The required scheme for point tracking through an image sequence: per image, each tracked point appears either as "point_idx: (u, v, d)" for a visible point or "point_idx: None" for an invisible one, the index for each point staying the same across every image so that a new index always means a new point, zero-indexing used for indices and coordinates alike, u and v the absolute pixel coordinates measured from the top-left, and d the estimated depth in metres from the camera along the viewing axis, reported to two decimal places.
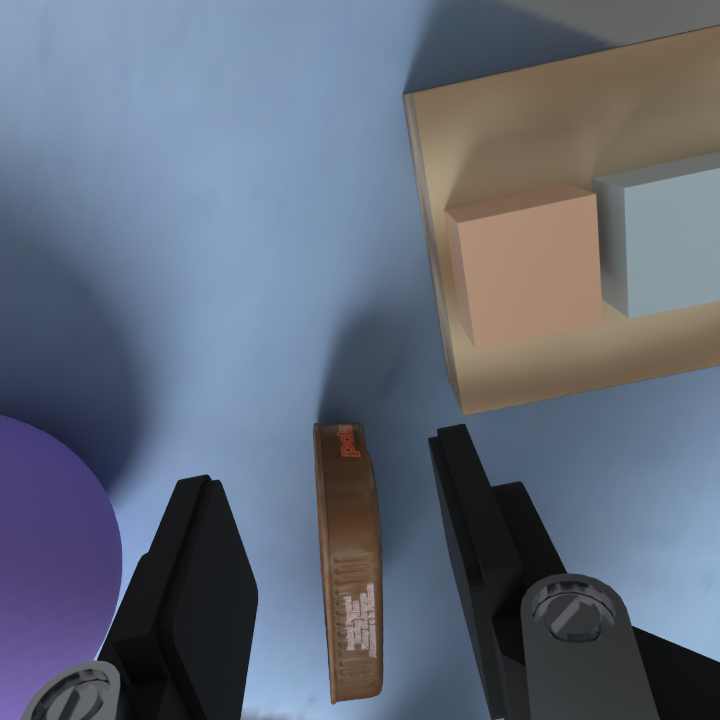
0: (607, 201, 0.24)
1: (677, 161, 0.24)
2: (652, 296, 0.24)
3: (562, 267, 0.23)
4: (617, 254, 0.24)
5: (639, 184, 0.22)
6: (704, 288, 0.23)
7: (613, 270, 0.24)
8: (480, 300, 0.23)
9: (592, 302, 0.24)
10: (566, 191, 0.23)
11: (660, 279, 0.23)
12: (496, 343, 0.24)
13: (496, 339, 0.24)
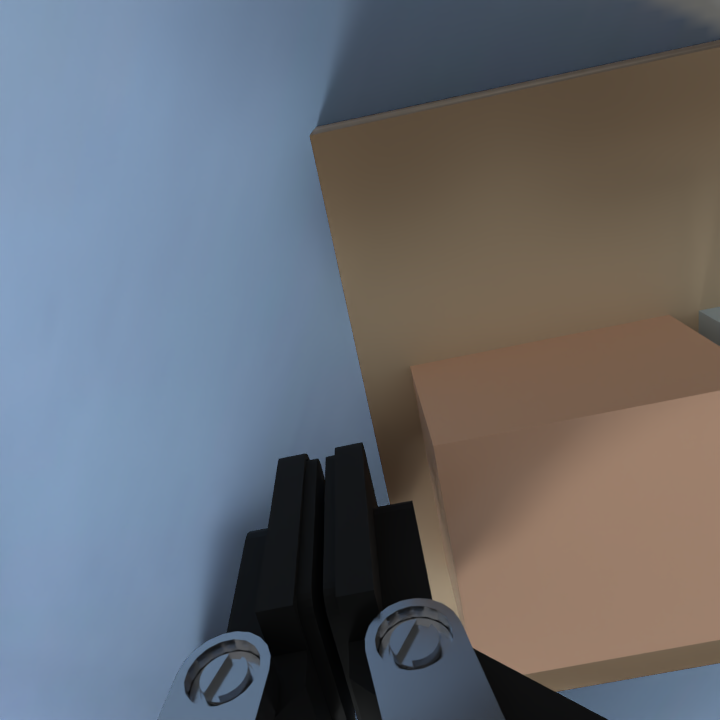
0: None
1: None
2: None
3: (676, 529, 0.10)
4: None
5: None
6: None
7: None
8: (488, 596, 0.10)
9: None
10: (681, 348, 0.10)
11: None
12: (521, 672, 0.11)
13: (520, 664, 0.11)
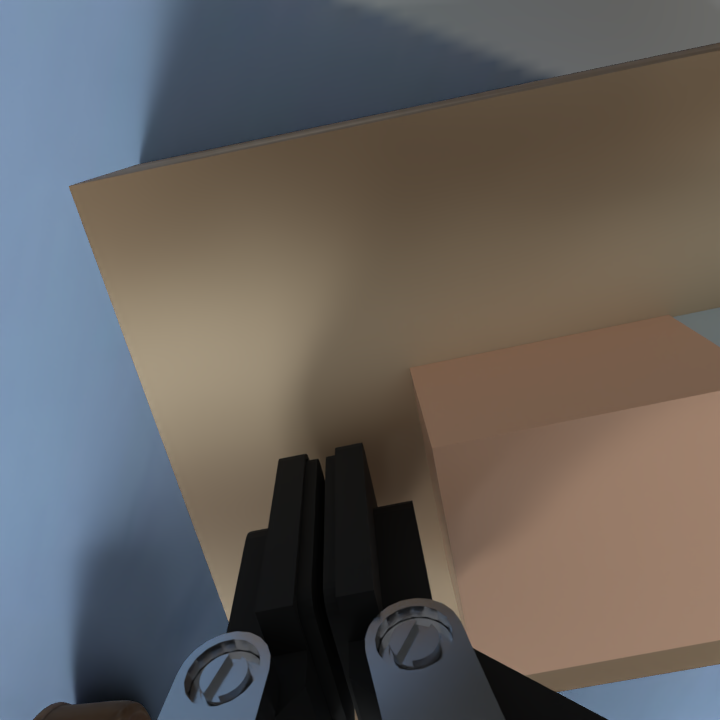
0: None
1: None
2: None
3: (677, 530, 0.10)
4: None
5: None
6: None
7: None
8: (488, 597, 0.10)
9: None
10: (680, 348, 0.10)
11: None
12: (522, 673, 0.11)
13: (521, 665, 0.11)
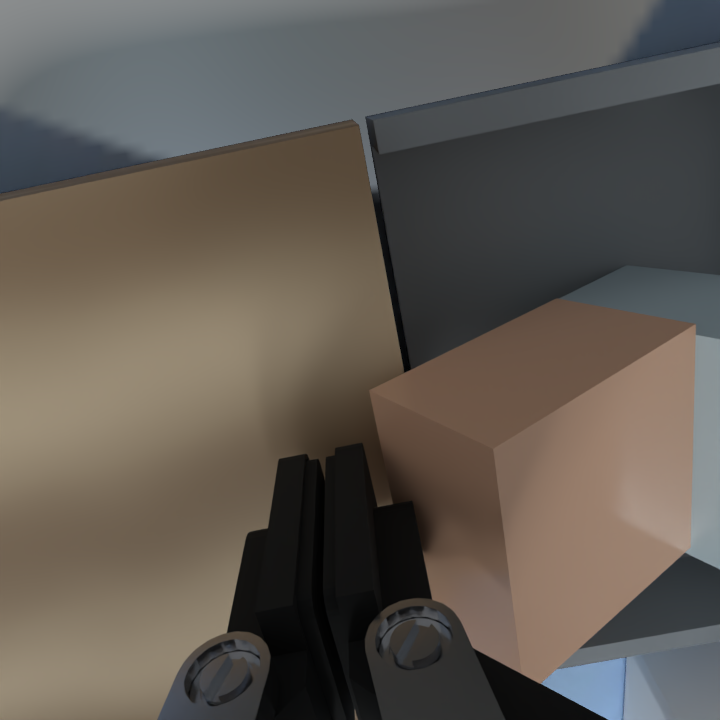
0: None
1: None
2: None
3: (649, 474, 0.11)
4: None
5: None
6: None
7: None
8: (534, 595, 0.10)
9: (681, 518, 0.12)
10: (600, 318, 0.12)
11: None
12: (558, 665, 0.11)
13: (556, 657, 0.11)
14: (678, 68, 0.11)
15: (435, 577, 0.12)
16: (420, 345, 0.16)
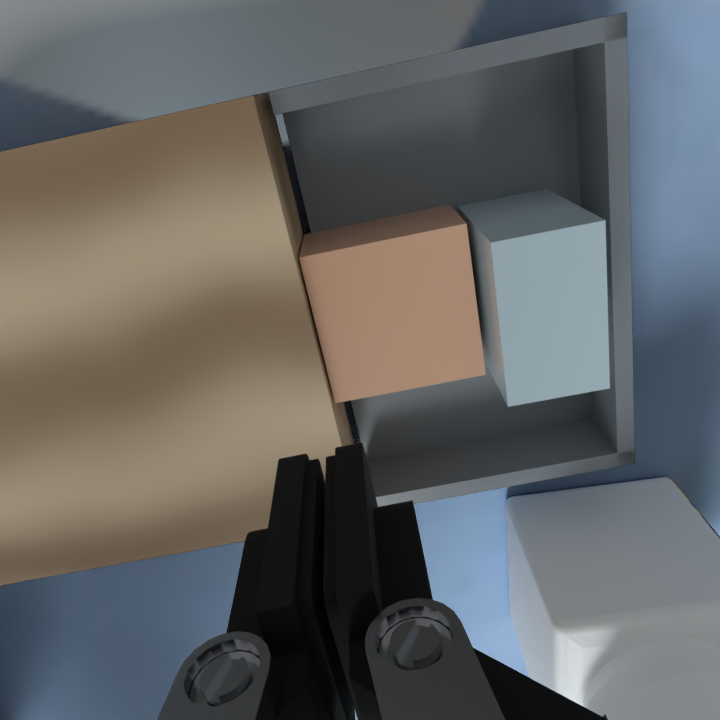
0: (548, 257, 0.16)
1: (475, 215, 0.19)
2: None
3: (431, 309, 0.19)
4: (578, 318, 0.17)
5: (592, 216, 0.17)
6: None
7: (564, 346, 0.17)
8: (336, 346, 0.19)
9: (471, 350, 0.20)
10: (441, 216, 0.19)
11: None
12: (359, 396, 0.20)
13: (358, 392, 0.20)
14: (469, 55, 0.17)
15: None
16: None
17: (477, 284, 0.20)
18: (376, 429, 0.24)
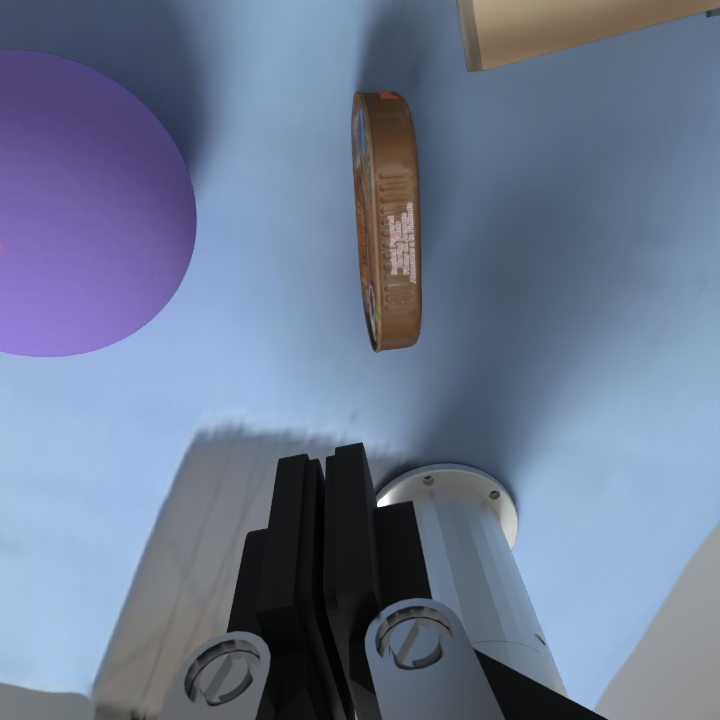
0: None
1: None
2: None
3: None
4: None
5: None
6: None
7: None
8: None
9: None
10: None
11: None
12: None
13: None
14: None
15: None
16: None
17: None
18: None
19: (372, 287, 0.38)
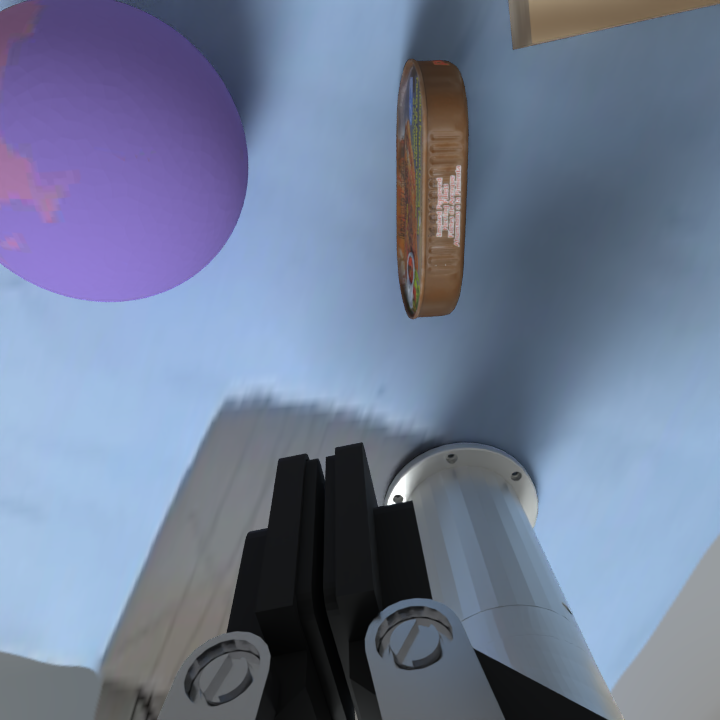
0: None
1: None
2: None
3: None
4: None
5: None
6: None
7: None
8: None
9: None
10: None
11: None
12: None
13: None
14: None
15: None
16: None
17: None
18: None
19: (412, 254, 0.38)
